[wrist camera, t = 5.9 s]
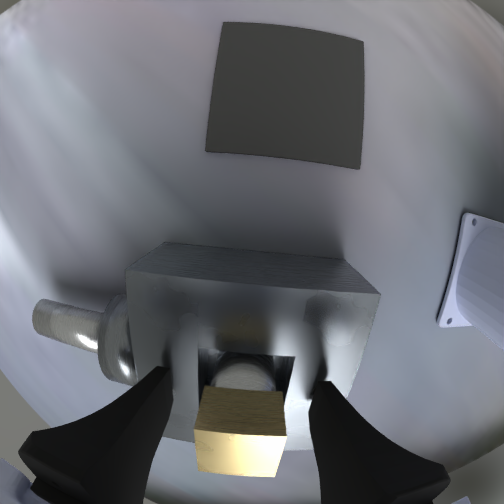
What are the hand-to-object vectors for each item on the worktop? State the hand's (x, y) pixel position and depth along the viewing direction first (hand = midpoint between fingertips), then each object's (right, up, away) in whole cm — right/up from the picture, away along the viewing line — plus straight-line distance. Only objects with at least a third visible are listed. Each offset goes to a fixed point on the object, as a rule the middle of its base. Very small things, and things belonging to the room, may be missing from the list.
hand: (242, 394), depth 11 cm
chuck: (-4, +2, +5) cm, 7 cm away
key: (0, +1, +3) cm, 3 cm away
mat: (+2, +15, +2) cm, 15 cm away
